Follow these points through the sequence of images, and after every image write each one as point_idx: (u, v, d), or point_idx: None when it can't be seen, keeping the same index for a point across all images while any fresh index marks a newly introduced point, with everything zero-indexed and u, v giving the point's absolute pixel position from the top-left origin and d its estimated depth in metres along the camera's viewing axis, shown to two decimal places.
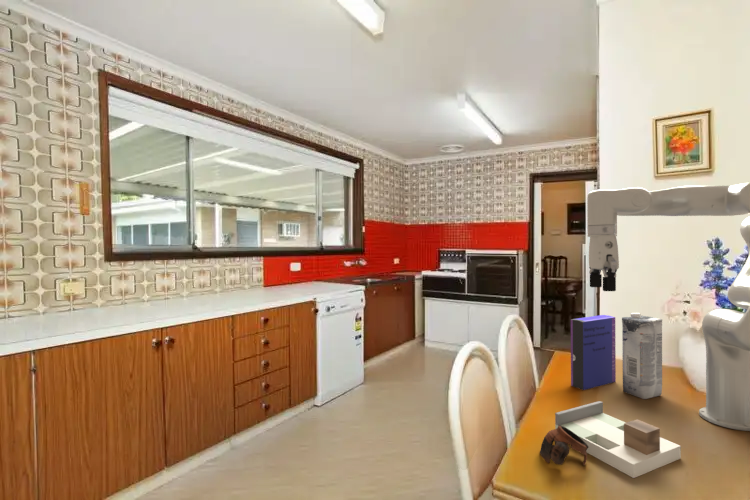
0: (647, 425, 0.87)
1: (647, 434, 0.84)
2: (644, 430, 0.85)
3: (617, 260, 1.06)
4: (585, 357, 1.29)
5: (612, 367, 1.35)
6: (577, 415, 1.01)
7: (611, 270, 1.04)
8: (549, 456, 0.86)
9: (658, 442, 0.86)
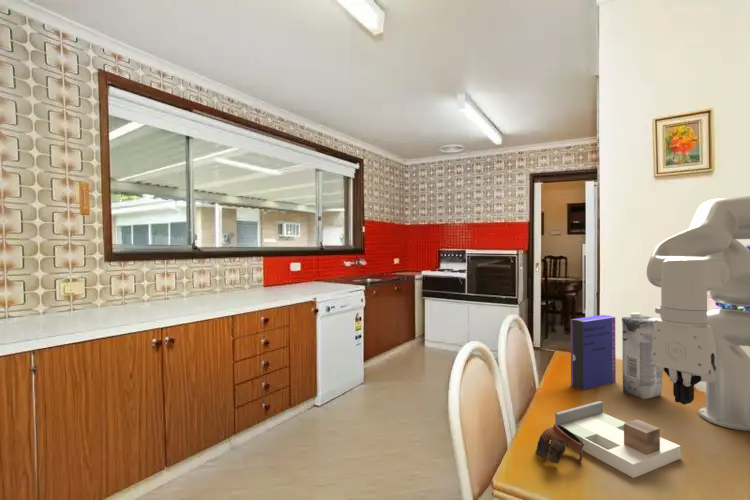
0: (647, 425, 0.87)
1: (647, 434, 0.84)
2: (644, 430, 0.85)
3: (652, 350, 0.83)
4: (585, 357, 1.29)
5: (612, 367, 1.35)
6: (577, 415, 1.01)
7: None
8: (545, 454, 0.87)
9: (658, 442, 0.86)
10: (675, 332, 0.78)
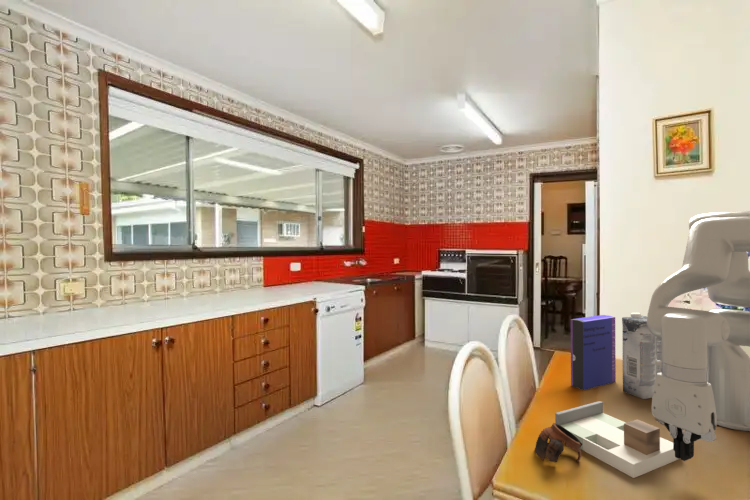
0: (647, 425, 0.87)
1: (647, 434, 0.84)
2: (644, 430, 0.85)
3: (652, 404, 0.83)
4: (585, 357, 1.29)
5: (612, 367, 1.35)
6: (577, 415, 1.01)
7: None
8: (544, 454, 0.87)
9: (658, 442, 0.86)
10: (675, 388, 0.78)
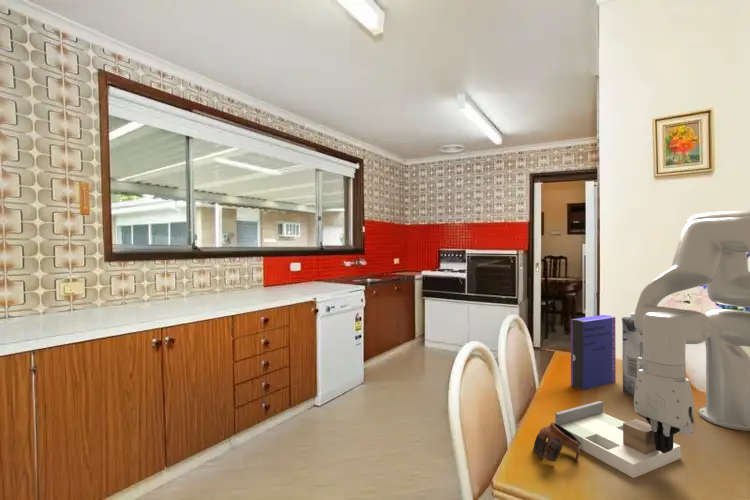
0: (646, 425, 0.88)
1: (646, 433, 0.84)
2: (643, 429, 0.85)
3: None
4: (585, 357, 1.29)
5: (612, 367, 1.35)
6: (577, 415, 1.01)
7: None
8: (542, 453, 0.88)
9: None
10: (655, 384, 0.82)
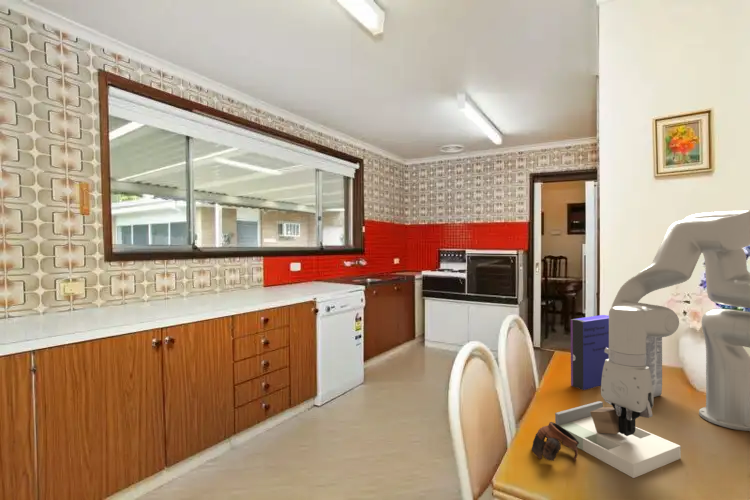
0: (610, 408, 0.95)
1: (609, 412, 0.92)
2: (607, 410, 0.93)
3: None
4: (585, 357, 1.29)
5: None
6: (577, 415, 1.01)
7: None
8: (541, 452, 0.88)
9: None
10: (619, 372, 0.89)
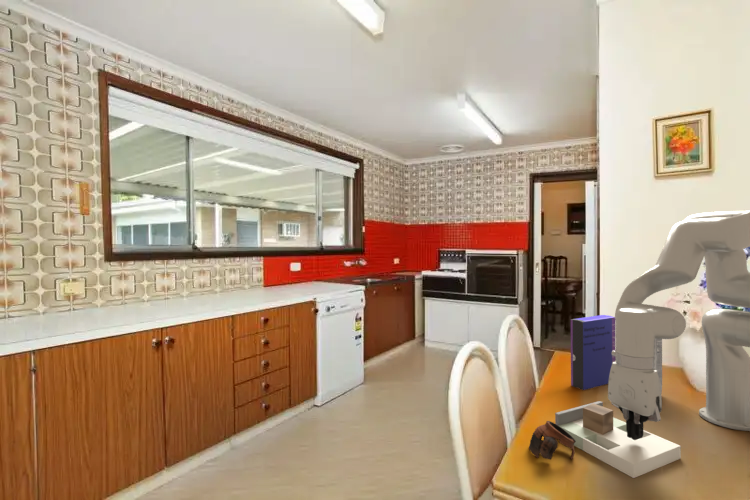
0: (603, 408, 0.97)
1: (603, 415, 0.93)
2: (600, 412, 0.94)
3: None
4: (585, 357, 1.29)
5: None
6: (577, 415, 1.01)
7: None
8: (538, 451, 0.88)
9: (612, 423, 0.95)
10: (626, 375, 0.87)
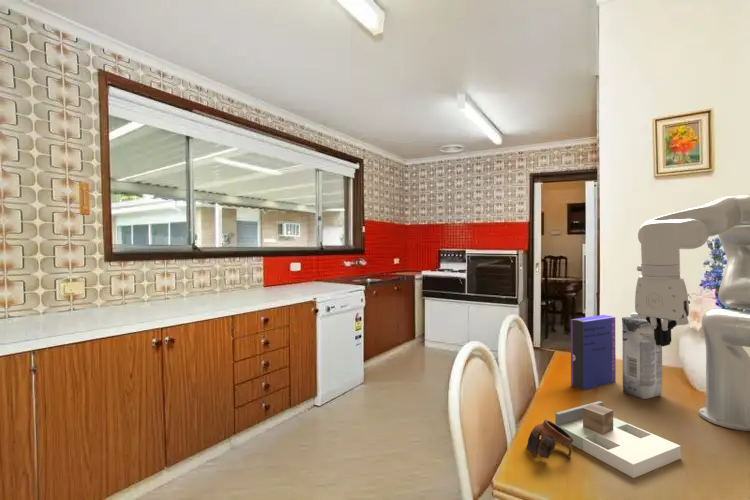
0: (603, 408, 0.97)
1: (603, 415, 0.93)
2: (600, 412, 0.94)
3: None
4: (585, 357, 1.29)
5: (612, 367, 1.35)
6: (577, 415, 1.01)
7: None
8: (536, 450, 0.89)
9: (612, 423, 0.95)
10: (654, 285, 0.91)
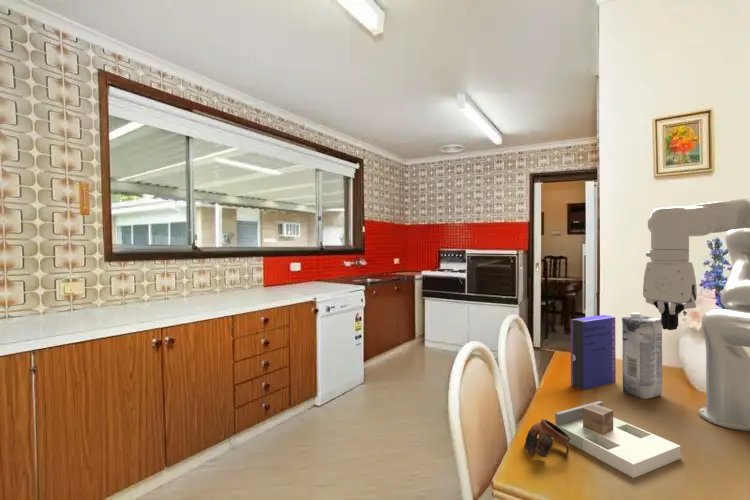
0: (603, 408, 0.97)
1: (603, 415, 0.93)
2: (600, 412, 0.94)
3: None
4: (585, 357, 1.29)
5: (612, 367, 1.35)
6: (577, 415, 1.01)
7: None
8: (534, 449, 0.89)
9: (612, 423, 0.95)
10: (662, 269, 0.93)
